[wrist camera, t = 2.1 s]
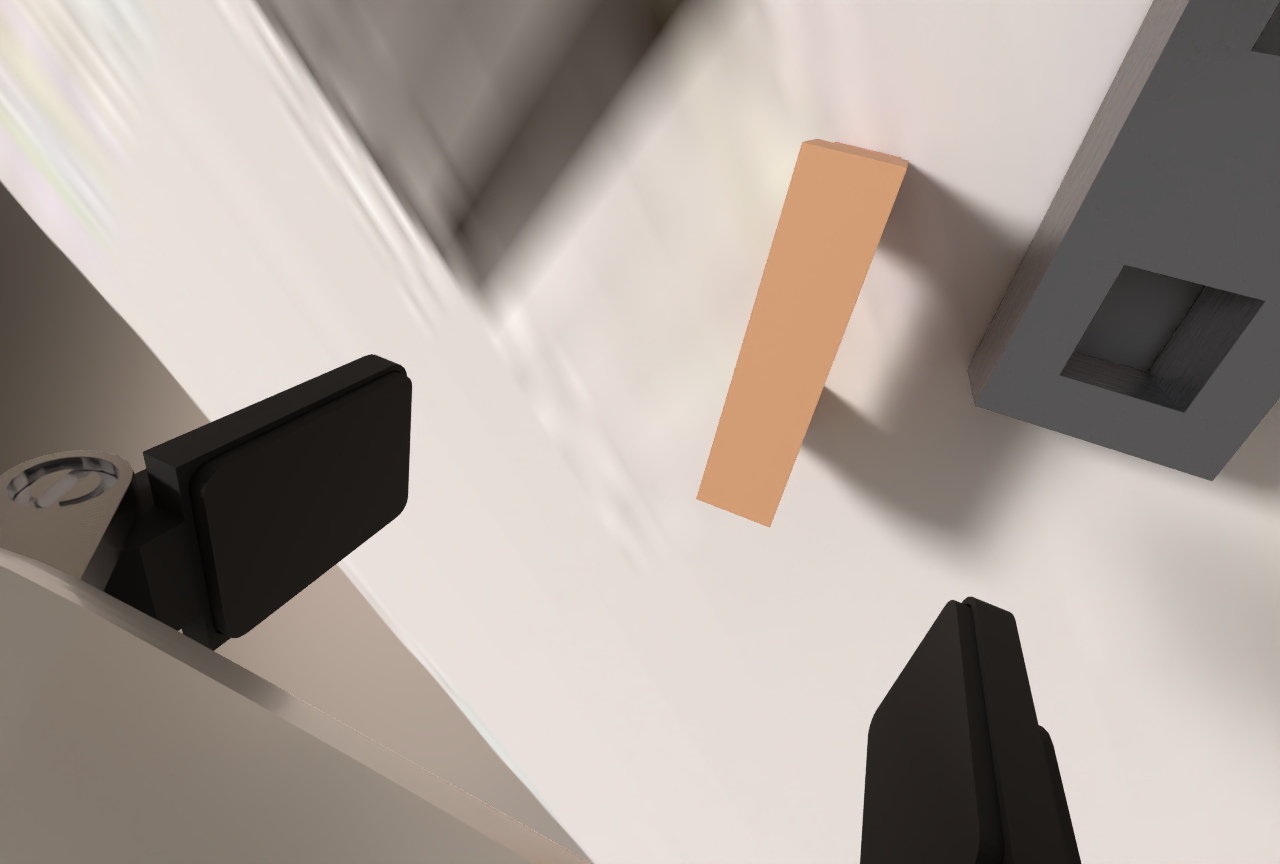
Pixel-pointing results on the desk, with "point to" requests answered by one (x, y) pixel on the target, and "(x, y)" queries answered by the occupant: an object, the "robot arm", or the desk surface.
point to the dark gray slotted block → (1159, 250)
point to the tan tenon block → (798, 321)
